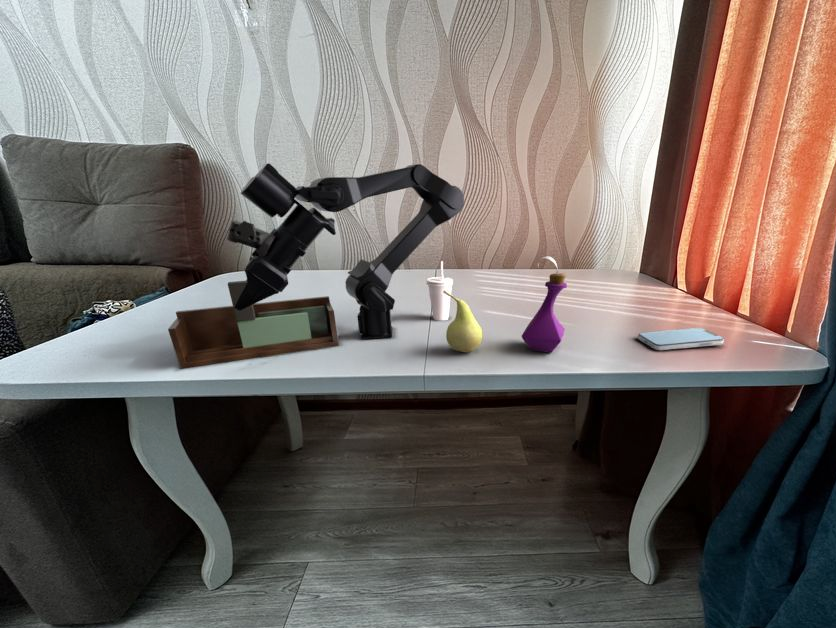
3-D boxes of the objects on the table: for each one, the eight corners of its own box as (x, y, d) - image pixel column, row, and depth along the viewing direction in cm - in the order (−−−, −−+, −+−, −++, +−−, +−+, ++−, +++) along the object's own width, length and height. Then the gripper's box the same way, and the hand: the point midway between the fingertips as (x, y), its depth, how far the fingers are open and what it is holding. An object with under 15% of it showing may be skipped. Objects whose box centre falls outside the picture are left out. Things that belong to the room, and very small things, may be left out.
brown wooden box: (333, 333, 83) (328, 296, 80) (338, 345, 77) (333, 305, 73) (189, 353, 73) (176, 311, 70) (180, 369, 66) (165, 323, 63)
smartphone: (635, 332, 80) (700, 326, 82) (634, 339, 81) (698, 334, 83) (657, 345, 73) (727, 338, 75) (656, 353, 74) (725, 346, 76)
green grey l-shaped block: (311, 340, 77) (301, 276, 72) (312, 342, 75) (301, 277, 70) (244, 349, 72) (228, 281, 67) (244, 352, 71) (227, 283, 66)
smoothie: (450, 323, 90) (449, 263, 85) (424, 321, 91) (422, 262, 86) (456, 315, 96) (455, 259, 91) (432, 313, 97) (430, 258, 92)
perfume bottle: (563, 343, 78) (572, 254, 71) (559, 357, 71) (569, 260, 64) (527, 339, 80) (533, 252, 73) (520, 352, 73) (525, 258, 67)
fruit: (479, 359, 70) (480, 296, 66) (440, 356, 72) (438, 294, 67) (484, 346, 76) (485, 287, 72) (448, 343, 78) (447, 286, 73)
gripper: (255, 201, 72) (202, 264, 72) (248, 203, 56) (181, 284, 56) (306, 242, 78) (257, 300, 78) (313, 254, 62) (252, 327, 62)
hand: (239, 302), depth 68 cm, fingers open, 9 cm apart
